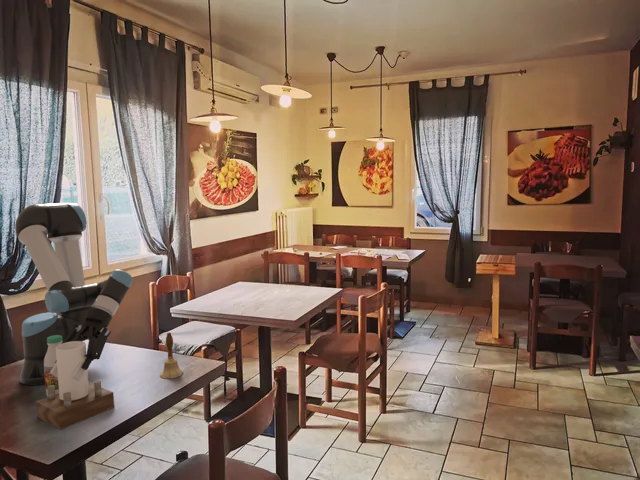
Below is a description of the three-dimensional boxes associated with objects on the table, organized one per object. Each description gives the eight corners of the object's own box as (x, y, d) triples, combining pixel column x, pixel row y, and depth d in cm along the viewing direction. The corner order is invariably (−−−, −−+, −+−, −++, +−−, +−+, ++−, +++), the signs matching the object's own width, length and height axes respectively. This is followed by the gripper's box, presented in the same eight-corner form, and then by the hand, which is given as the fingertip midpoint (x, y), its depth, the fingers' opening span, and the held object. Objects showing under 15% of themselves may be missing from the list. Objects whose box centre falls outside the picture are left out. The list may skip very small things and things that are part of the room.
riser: (37, 416, 149) (34, 388, 148) (90, 396, 162) (88, 371, 161) (60, 429, 141) (57, 400, 140) (114, 407, 154) (112, 380, 153)
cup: (78, 401, 146) (75, 350, 144) (53, 400, 147) (49, 349, 145) (94, 389, 154) (91, 341, 152) (70, 388, 155) (66, 340, 153)
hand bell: (155, 377, 178) (153, 335, 176) (167, 369, 186) (165, 329, 184) (175, 379, 176) (173, 337, 174) (187, 371, 184) (185, 330, 182)
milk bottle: (48, 390, 168) (43, 334, 166) (73, 387, 171) (68, 332, 168) (44, 399, 161) (39, 341, 158) (70, 395, 163) (65, 338, 161)
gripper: (133, 320, 159) (98, 386, 146) (84, 315, 167) (47, 377, 154) (120, 309, 153) (82, 376, 140) (70, 304, 161) (30, 367, 148)
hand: (64, 376), depth 147 cm, fingers open, 8 cm apart
